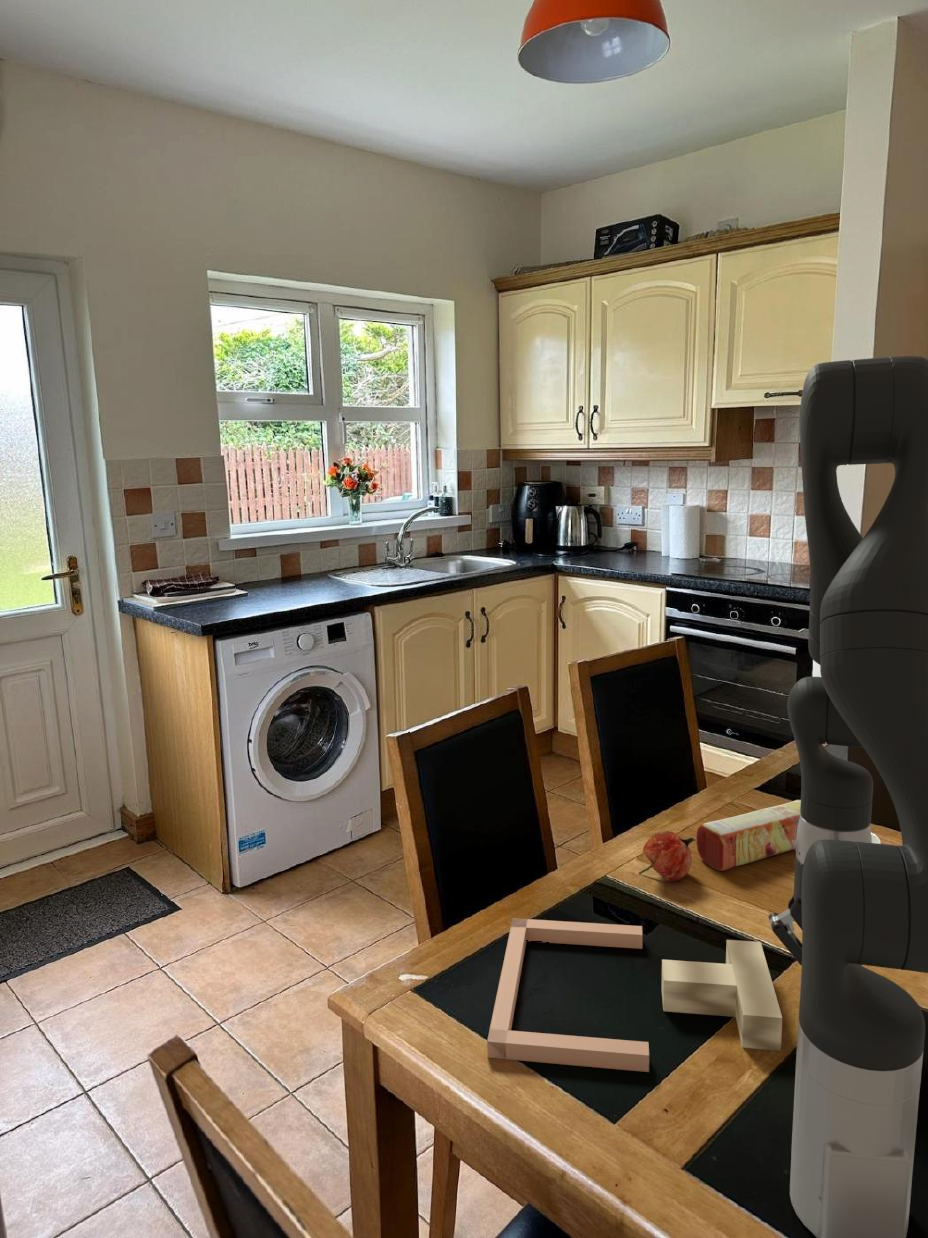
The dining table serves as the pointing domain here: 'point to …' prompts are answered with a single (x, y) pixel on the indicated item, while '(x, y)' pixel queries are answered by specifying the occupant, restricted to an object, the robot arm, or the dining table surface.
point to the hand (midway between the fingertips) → (824, 996)
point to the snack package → (749, 836)
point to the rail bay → (554, 1045)
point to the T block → (728, 992)
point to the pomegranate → (668, 855)
